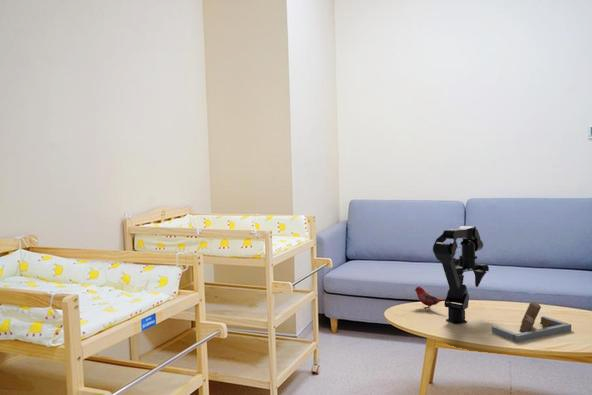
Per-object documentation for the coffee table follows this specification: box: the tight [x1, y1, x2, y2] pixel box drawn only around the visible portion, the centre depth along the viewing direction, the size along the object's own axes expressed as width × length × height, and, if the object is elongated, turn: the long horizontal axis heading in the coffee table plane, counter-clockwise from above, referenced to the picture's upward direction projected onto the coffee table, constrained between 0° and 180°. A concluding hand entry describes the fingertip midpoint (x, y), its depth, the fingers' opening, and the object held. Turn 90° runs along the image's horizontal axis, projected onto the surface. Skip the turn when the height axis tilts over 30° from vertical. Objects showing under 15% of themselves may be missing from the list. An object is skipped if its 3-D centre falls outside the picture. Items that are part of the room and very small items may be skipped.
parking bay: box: [491, 315, 572, 344], centre depth 207 cm, size 29×13×2 cm, turn 113°
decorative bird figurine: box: [414, 286, 446, 310], centre depth 242 cm, size 3×18×10 cm, turn 43°
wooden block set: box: [519, 301, 551, 333], centre depth 210 cm, size 18×9×10 cm, turn 131°
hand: (468, 288), depth 232 cm, fingers open, 9 cm apart
